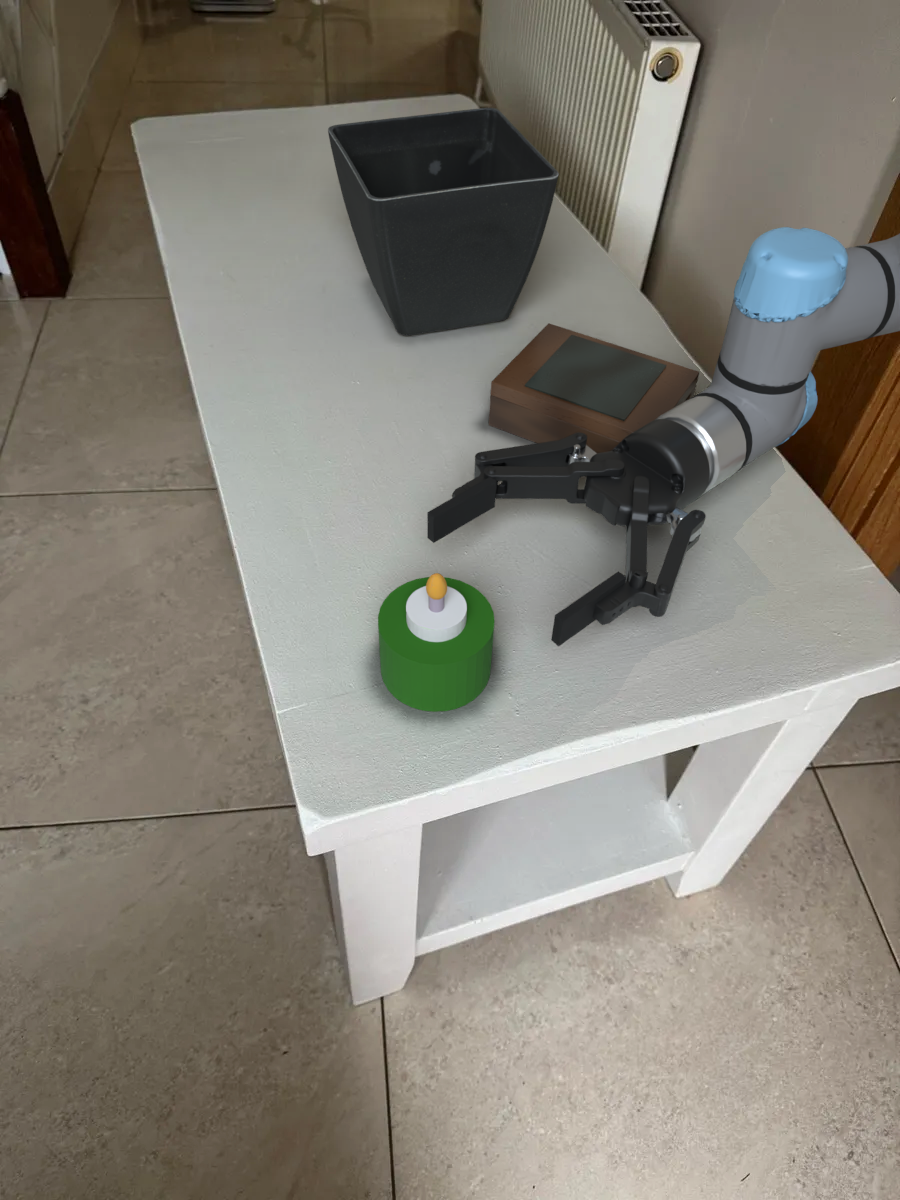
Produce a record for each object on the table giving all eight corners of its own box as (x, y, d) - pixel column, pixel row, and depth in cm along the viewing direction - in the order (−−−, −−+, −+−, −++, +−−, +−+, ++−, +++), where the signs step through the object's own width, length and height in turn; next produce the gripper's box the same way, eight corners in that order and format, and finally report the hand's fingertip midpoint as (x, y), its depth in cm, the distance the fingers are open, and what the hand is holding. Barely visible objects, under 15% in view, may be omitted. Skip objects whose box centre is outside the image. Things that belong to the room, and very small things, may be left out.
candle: (511, 657, 71) (521, 565, 63) (448, 730, 66) (450, 641, 59) (424, 609, 74) (424, 516, 66) (358, 675, 69) (349, 584, 62)
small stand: (688, 414, 92) (700, 369, 88) (641, 482, 85) (651, 436, 81) (543, 365, 97) (548, 320, 93) (488, 425, 90) (491, 379, 86)
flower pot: (336, 272, 109) (324, 121, 97) (488, 250, 113) (496, 103, 101) (377, 359, 97) (370, 200, 85) (546, 332, 101) (562, 176, 89)
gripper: (789, 571, 74) (609, 713, 65) (564, 424, 87) (386, 524, 77) (818, 501, 69) (626, 644, 59) (574, 354, 81) (383, 453, 72)
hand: (490, 577), depth 68 cm, fingers open, 13 cm apart
